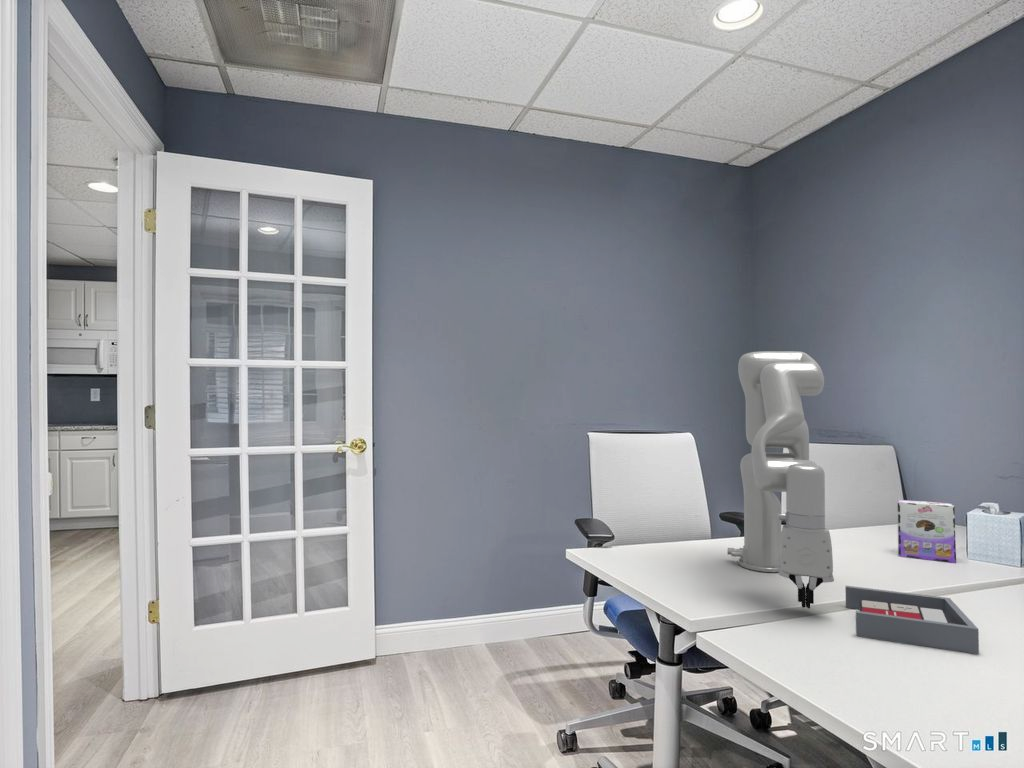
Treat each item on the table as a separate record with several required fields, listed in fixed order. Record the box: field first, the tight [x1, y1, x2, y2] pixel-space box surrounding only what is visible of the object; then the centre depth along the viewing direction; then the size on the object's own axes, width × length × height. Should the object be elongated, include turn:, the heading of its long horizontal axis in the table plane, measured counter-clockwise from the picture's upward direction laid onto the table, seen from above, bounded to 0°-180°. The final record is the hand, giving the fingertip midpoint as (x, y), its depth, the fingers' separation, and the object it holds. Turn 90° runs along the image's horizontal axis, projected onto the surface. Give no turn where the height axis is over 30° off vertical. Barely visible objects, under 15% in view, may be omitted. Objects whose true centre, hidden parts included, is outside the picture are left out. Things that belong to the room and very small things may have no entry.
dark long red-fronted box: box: [858, 600, 950, 623], centre depth 116 cm, size 11×4×15 cm
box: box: [844, 585, 980, 655], centre depth 117 cm, size 19×18×4 cm
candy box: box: [896, 499, 957, 564], centre depth 170 cm, size 14×6×16 cm, turn 58°
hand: (805, 605), depth 125 cm, fingers closed
